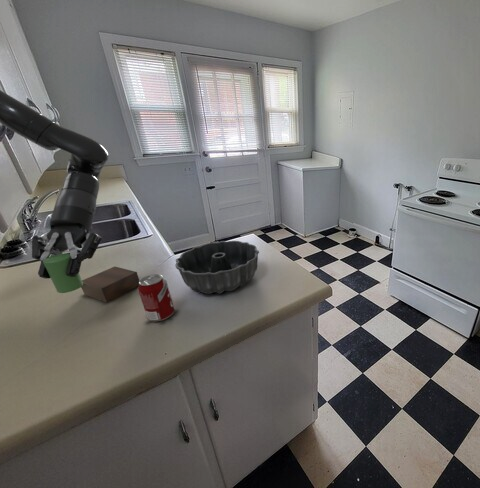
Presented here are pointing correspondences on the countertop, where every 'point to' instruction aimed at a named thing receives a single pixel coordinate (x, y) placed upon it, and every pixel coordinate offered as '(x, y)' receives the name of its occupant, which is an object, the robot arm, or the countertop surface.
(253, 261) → the bundt pan
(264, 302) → the countertop surface
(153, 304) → the soda can
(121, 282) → the walnut block
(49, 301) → the countertop surface
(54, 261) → the green cylinder
